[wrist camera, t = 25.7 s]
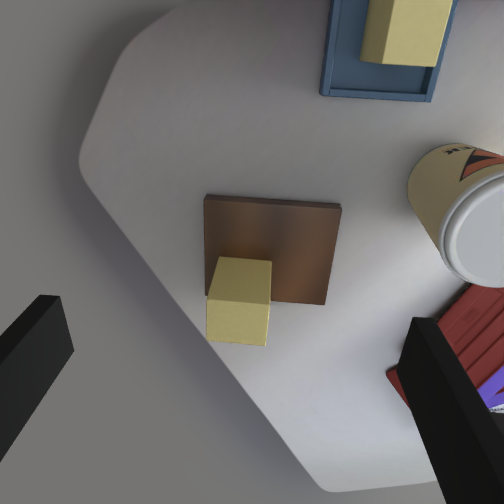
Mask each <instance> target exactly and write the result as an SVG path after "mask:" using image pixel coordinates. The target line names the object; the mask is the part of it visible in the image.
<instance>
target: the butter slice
mask: <svg viewBox="0 0 504 504" xmlns="http://www.w3.org/2000/svg"><path fill="white" fill-rule="evenodd" d="M452 1H453V0H369V5H368V11H367V17H366V23H365V29H364V35H363V40H362V46H361V52H360V58H359V61H364V62H372V63H379V64H393V65H410V66H427V67H435V66H436V63H437V59H438V55H439V51H440V47H441V44H442V40H443V36H444V32H445V28H446V24H447V21H448V17H449V13H450V9H451V5H452Z"/></svg>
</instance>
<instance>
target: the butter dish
mask: <svg viewBox="0 0 504 504" xmlns="http://www.w3.org/2000/svg"><path fill="white" fill-rule="evenodd" d="M457 3H458V0H453V1H452V5H451V9H450V13H449V17H448V21H447V24H446V28H445V32H444V36H443V40H442V44H441V47H440V51H439V55H438V59H437V63H436V66H435V67H427V66H410V65H393V64H379V63H372V62H364V61H359V58H360V52H361V46H362V40H363V35H364V29H365V23H366V17H367V11H368V5H369V0H331V4H330V12H329V20H328V28H327V36H326V44H325V51H324V59H323V67H322V75H321V83H320V91H319V93H320V94H321V95H322V96H333V97H349V98H365V99H382V100H398V101H415V102H431V101H432V97H433V93H434V90H435V86H436V82H437V78H438V75H439V71H440V67H441V63H442V60H443V56H444V52H445V48H446V45H447V41H448V37H449V33H450V30H451V26H452V22H453V18H454V15H455V11H456V7H457Z"/></svg>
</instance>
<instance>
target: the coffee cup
mask: <svg viewBox="0 0 504 504" xmlns="http://www.w3.org/2000/svg"><path fill="white" fill-rule="evenodd" d="M407 195H408V199H409V202H410V204H411V206H412V208H413V210H414V211H415V213H416V215H417V216H418V218H419V220H420V221H421V223H422V225H423V226H424V228H425V230H426V231H427V233H428V234H429V236H430V238H431V239H432V241H433V243H434V244H435V246H436V247H437V249H438V251H439V252H440V255H441V257H442V259H443V261H444V263H445V265H446V266H447V267H448V268H449V269H450V270H451V271H452V272H453V273H454V274H455V275H456V276H458V277H459V278H461V279H463V280H465V281H467V282H470V283H473V284H477V285H480V286H485V287H495V288H501V287H504V156H501V155H498V154H495V153H492V152H489V151H486V150H483V149H480V148H477V147H473V146H470V145H465V144H448V145H444V146H441V147H438V148H436V149H434V150H432V151H430V152H429V153H427V154H426V155H425V156H424V157H423V158H421V159H420V160H419V162H418V163H417V164H416V165H415V167H414V168H413V170H412V172H411V174H410V176H409V179H408V184H407Z"/></svg>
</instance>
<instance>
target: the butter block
mask: <svg viewBox="0 0 504 504" xmlns="http://www.w3.org/2000/svg"><path fill="white" fill-rule="evenodd" d="M271 266H272V261H265V260H254V259H243V258H231V257H219V259H218V262H217V266H216V269H215V272H214V276H213V279H212V283H211V286H210V289H209V293H208V296H207V301H206V340H207V341H218V342H228V343H239V344H249V345H260V346H265V345H266V337H267V328H268V319H269V309H270V291H271Z"/></svg>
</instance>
